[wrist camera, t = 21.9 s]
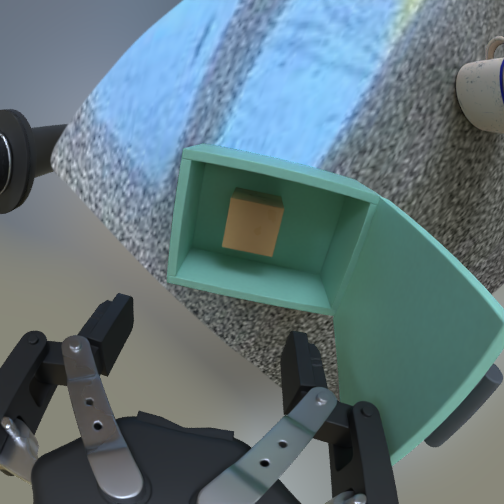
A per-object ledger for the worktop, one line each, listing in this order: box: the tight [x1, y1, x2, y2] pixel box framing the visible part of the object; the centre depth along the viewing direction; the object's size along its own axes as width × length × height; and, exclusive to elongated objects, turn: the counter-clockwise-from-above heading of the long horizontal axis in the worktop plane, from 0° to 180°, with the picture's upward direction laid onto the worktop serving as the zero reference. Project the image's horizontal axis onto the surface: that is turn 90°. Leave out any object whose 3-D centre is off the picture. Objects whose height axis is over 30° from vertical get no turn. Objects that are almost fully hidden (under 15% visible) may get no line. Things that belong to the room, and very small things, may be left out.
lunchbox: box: [167, 143, 381, 316], centre depth 26 cm, size 16×12×7 cm
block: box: [222, 187, 284, 257], centre depth 26 cm, size 4×4×4 cm
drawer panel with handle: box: [333, 197, 504, 466], centre depth 15 cm, size 16×12×5 cm
